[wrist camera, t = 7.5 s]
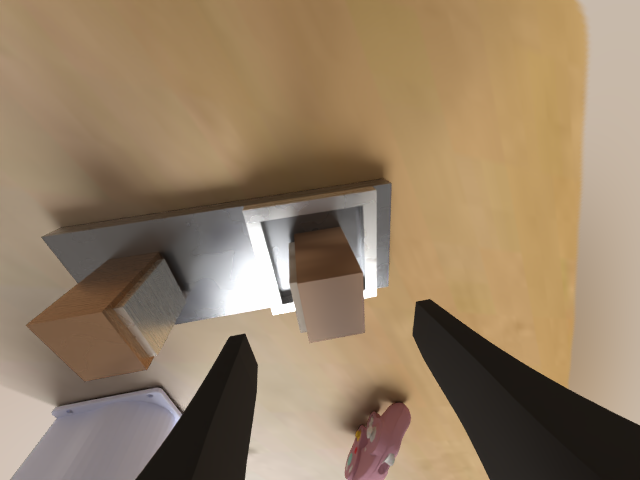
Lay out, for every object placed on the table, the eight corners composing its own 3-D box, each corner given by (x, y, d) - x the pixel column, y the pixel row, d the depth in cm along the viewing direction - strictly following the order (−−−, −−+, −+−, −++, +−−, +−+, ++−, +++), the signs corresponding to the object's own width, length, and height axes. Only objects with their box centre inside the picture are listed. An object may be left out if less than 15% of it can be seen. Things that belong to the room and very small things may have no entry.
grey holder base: (128, 321, 18) (58, 412, 12) (59, 227, 14) (-87, 299, 8) (382, 276, 19) (421, 342, 13) (384, 178, 15) (439, 213, 10)
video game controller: (378, 384, 29) (373, 446, 23) (413, 405, 28) (417, 474, 22) (346, 425, 33) (334, 488, 27) (375, 444, 32) (370, 513, 26)
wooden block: (298, 284, 17) (301, 344, 12) (287, 235, 15) (288, 285, 10) (344, 276, 17) (365, 332, 12) (340, 226, 15) (363, 272, 10)
